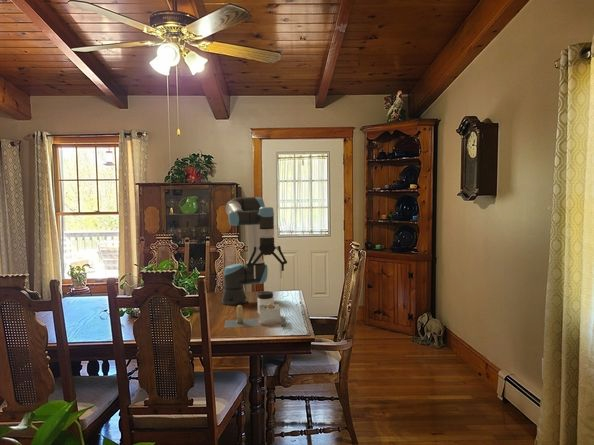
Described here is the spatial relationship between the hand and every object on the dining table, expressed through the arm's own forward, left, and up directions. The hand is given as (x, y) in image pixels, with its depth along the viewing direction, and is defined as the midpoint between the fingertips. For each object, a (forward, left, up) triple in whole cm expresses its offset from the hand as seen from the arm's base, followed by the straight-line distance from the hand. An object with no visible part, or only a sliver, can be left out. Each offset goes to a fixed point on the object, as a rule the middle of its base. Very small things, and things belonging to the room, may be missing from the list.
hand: (267, 277), depth 220 cm
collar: (+6, -3, -21) cm, 22 cm away
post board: (+3, -10, -22) cm, 24 cm away
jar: (-9, +4, -22) cm, 24 cm away
